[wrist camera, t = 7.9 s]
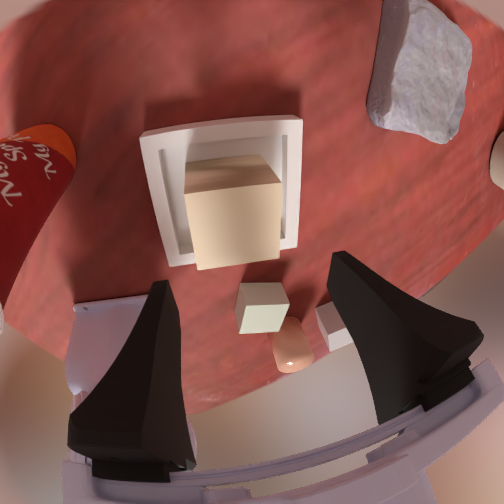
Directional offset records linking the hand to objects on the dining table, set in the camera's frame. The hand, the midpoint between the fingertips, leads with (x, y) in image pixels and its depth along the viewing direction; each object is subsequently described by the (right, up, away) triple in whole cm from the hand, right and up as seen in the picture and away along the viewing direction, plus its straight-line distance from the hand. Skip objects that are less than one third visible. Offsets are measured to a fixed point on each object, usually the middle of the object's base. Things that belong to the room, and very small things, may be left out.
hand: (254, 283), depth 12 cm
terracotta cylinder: (+4, -7, +19) cm, 21 cm away
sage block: (0, -3, +15) cm, 16 cm away
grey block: (+9, -6, +20) cm, 22 cm away
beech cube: (-2, +6, +7) cm, 9 cm away
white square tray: (-2, +6, +8) cm, 10 cm away
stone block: (+13, +16, +4) cm, 22 cm away
